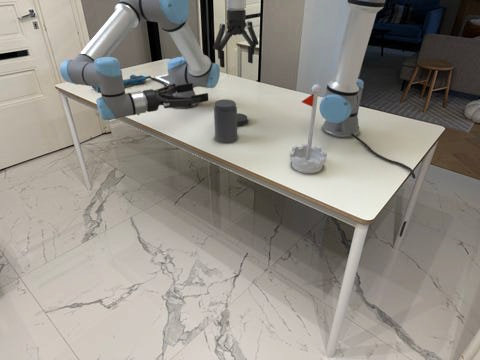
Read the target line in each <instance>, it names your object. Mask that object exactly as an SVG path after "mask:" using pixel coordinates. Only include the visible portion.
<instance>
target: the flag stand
mask: <svg viewBox="0 0 480 360" xmlns="http://www.w3.org/2000/svg"><path fill="white" fill-rule="evenodd" d="M321 91H322V86H321V85H320V84H318V83H316V84H313V85H312V86H311V92H312V94H310V95H309V96H308V97H306V98H305V99H303V100H302V101H301V103H303V104H305V105H307V106H309V107H311V108H310V109H311V110H310V117H309V125H308V126H309V127H308V135H307V143H304V144H302V146H301V147H299V146H298V145H294V146H293V147H292V148H291V150H290V151H289V160H290V161H291V167H292V168H293V169H294V170H295V171H297V172H299V173H303V174H315V173H318V172H320V171H321V170H323V165H325V163H326V162H327V157H328V153H327V151H326V150H323V148H322V147H320V146H319V145H315V146H314V147H312V146H313V139H314V130H315V121H316V115H317V107H318V98H319V94H320V92H321Z"/></svg>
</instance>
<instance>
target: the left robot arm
mask: <svg viewBox="0 0 480 360" xmlns="http://www.w3.org/2000/svg"><path fill="white" fill-rule="evenodd" d="M189 5H190V4H189V1H188V0H119V1H118V2H117V3H116V5H115V6H114V12H113V13H112V15H111V16H110V17H109V18H108V19H107V20H106V22H105V23H104V24H103V25H102V26H101V27H100V28H99V29H98V31H97V32H96V33H95V35H94V36H93V37H92V38H91V39H90V40H89V41H88V43H87V44H86V45H85V46H84V48H82V50H81V51H80V52H79V53H78V54H77V56H76V57H75V58H74V59H67V60H64V61H62V62H61V64H60V66H59V73H60V76H61V77H62V79H63V80H64V81H65V82H67V83H69V84H74V85H78V86H79V85H81V86H87V87H92V86H93V87H99V88H100V91H99V92H100V94H101V96H100V97H98V98H96V100H95V103H96V107H97V112H98V114H99V117H100V118H101V119H102V120H104V121H108V120H110V121H111V120H117V119H122V118H127V117H130V116H136V115H137V116H140V114H146V113H151V112H156V111H159V107H160V106H163V109H171V108H172V109H189V108H193V107H195V106H197V105H198V104H199V103H205V102H209V93H208V92H206V93H200V94H196V93H195V90H194V87H193V86H195V87H197V88H199V87H200V88H204V89H214V88H216V86H217V85H218V83H219V80H220V77H221V75H220V74H221V69H220V64H218V63H216V62H212V60H211V59H210V57H209V56H208V55H205V54H204V52H203V50H202V48H201V47H200V44H199V42H198V40H197V39H196V37H195V35H194V33H193V31H192V29H191V26H190V25H189V23H188V20H189V16H190V7H189ZM144 22H153V23H158V26H159V27H160V28H161V29H162V31H163V32H165V33H167V34H168V35H169V36H170V38H171V39H172V40H173V42H174V44H175V46H176V47H177V49H178V50H179V53H180V54H181V56H177V57H173V58H170V59H168V61H167V74H168V75H169V83H170V85H169V84H167V83H165V82H162V81H160V80H158V79H156V78H154V77H151V78H149V79H151V80H153V81H155V82H158V83H160V84H162V85H164V86H163V87H160V88H157V89H152V88H150V89H145V90H142V91H141V90H139V91H138V90H137V91H133V92H126V89H125V86H124V83H123V80H124V79H123V78H124V77H123V71H122V69H121V65H120V64H121V63H120V61H119V59H118V58H116V57H113V56H111V55H112V53H113V52H115V50H116V48H117V47H118V46H119V45H120V43H121V42H122V41H123V40H124V39H125V37H126V36H127V35H128V33H129V32H130V31H131V29H135V28H137V27H138V26H139V24H140V23H144Z"/></svg>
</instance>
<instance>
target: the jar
mask: <svg viewBox="0 0 480 360" xmlns="http://www.w3.org/2000/svg"><path fill="white" fill-rule="evenodd" d="M213 105H214V107H213V115H214V116H213V117H214V118H213V121H214V123H213V124H214V140H215V141H216V142H217V143H222V144H231V143H234V142H236V141H237V140H238V126H237V113H238V106H237V103H236V101H234V100H232V99H219V100H217V101H215V102H214V104H213Z"/></svg>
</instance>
